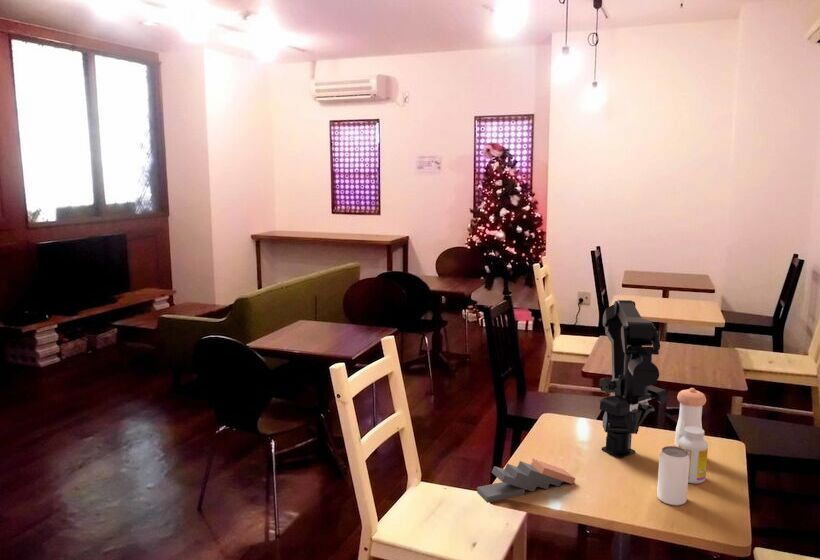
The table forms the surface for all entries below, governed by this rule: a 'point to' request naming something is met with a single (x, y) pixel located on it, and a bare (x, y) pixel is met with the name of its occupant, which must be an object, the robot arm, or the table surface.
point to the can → (673, 476)
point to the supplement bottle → (695, 453)
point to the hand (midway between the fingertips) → (632, 433)
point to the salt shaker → (689, 411)
